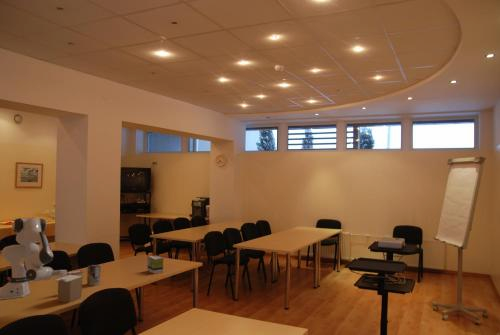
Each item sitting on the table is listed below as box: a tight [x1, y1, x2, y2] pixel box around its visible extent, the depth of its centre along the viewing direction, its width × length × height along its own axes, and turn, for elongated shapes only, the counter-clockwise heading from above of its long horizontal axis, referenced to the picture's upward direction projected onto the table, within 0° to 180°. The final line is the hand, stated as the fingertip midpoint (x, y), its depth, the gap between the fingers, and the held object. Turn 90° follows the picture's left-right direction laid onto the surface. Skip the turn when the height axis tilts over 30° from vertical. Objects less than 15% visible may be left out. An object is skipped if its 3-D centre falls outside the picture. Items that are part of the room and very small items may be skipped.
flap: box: [54, 275, 83, 282], centre depth 290 cm, size 16×11×1 cm
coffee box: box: [86, 264, 101, 287], centre depth 334 cm, size 9×6×16 cm
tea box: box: [146, 255, 164, 275], centre depth 382 cm, size 15×10×15 cm, turn 42°
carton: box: [57, 276, 83, 304], centre depth 292 cm, size 12×11×16 cm
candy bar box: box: [66, 270, 83, 292], centre depth 310 cm, size 11×5×16 cm, turn 141°
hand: (57, 272), depth 277 cm, fingers open, 8 cm apart
